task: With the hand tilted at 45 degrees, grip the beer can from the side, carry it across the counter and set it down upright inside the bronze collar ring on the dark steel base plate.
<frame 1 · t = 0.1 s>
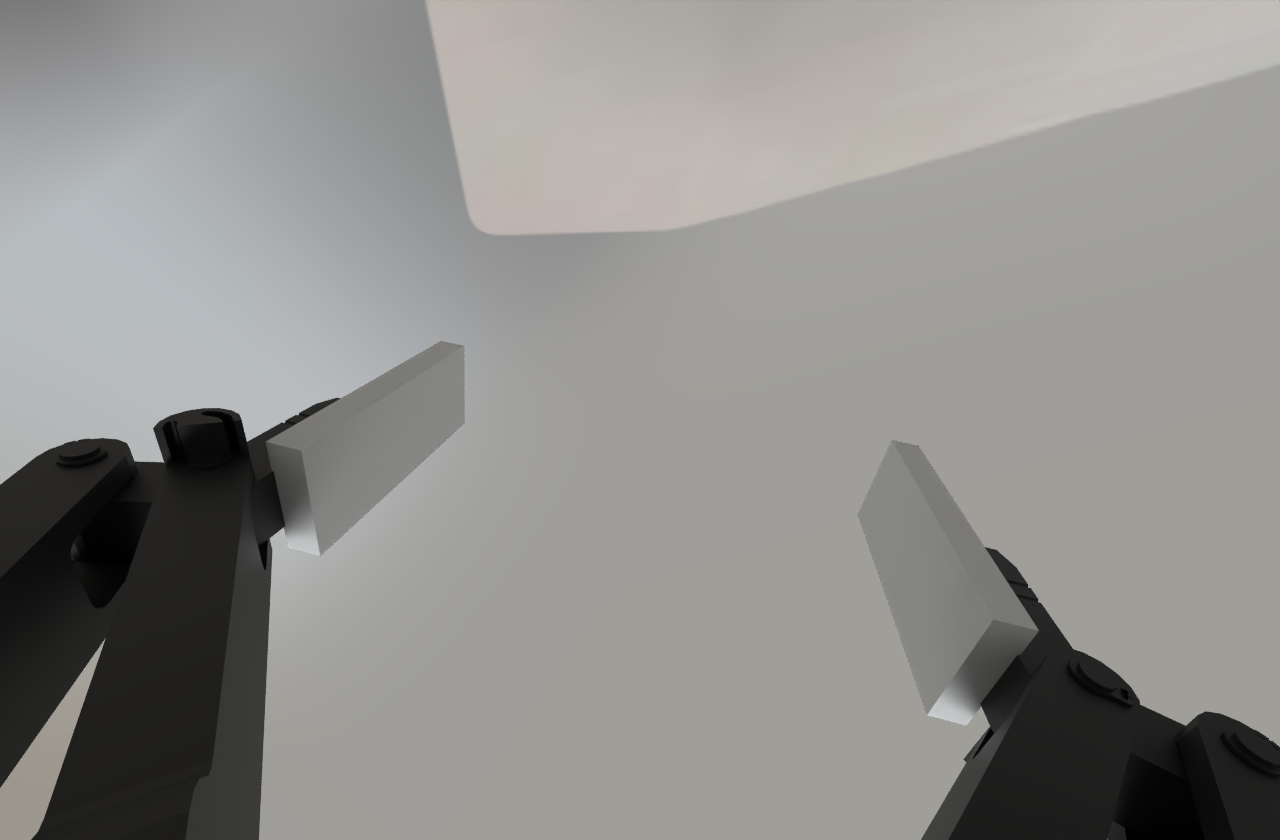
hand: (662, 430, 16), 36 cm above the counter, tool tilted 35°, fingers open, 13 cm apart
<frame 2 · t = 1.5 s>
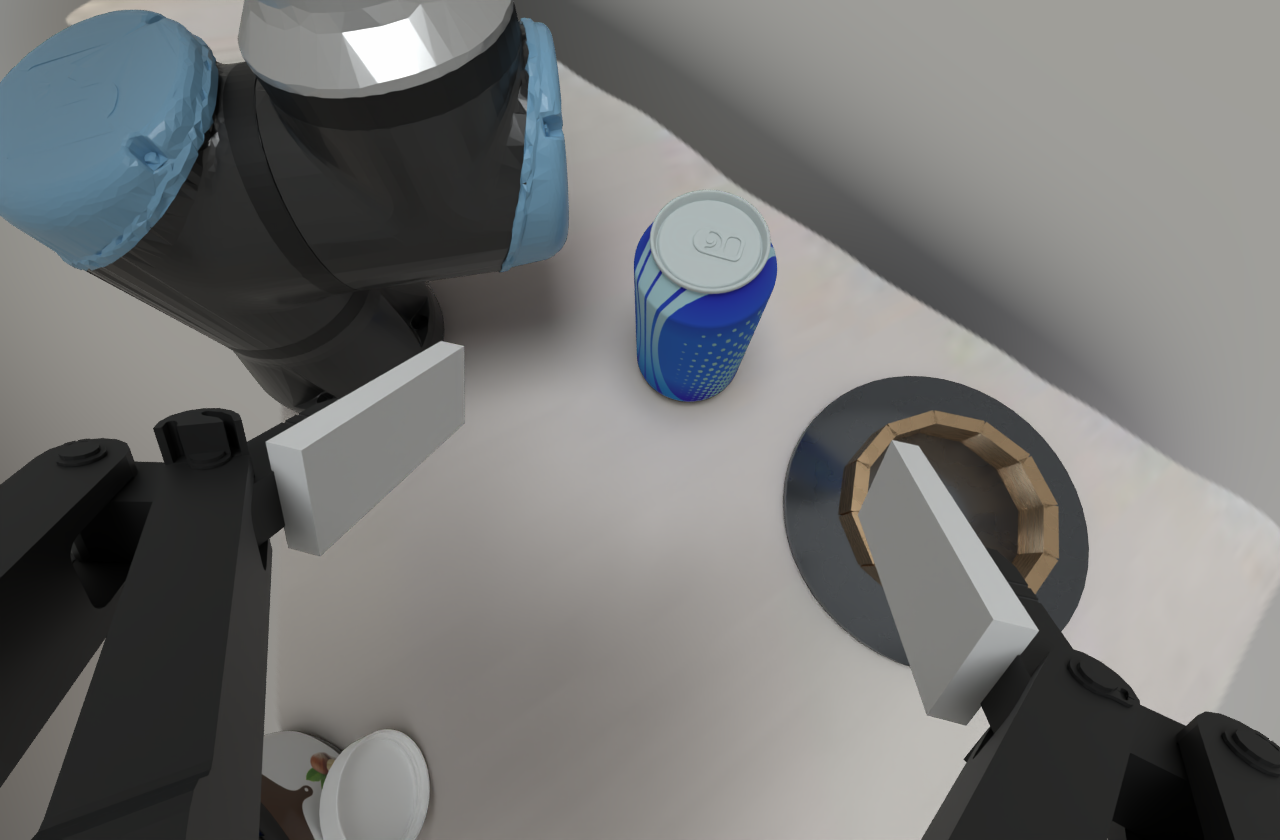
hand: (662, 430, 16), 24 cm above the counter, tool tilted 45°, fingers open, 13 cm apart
collar plate: (927, 514, 39), on the counter
beer can: (686, 361, 43), on the counter
spread jar: (341, 790, 34), on the counter
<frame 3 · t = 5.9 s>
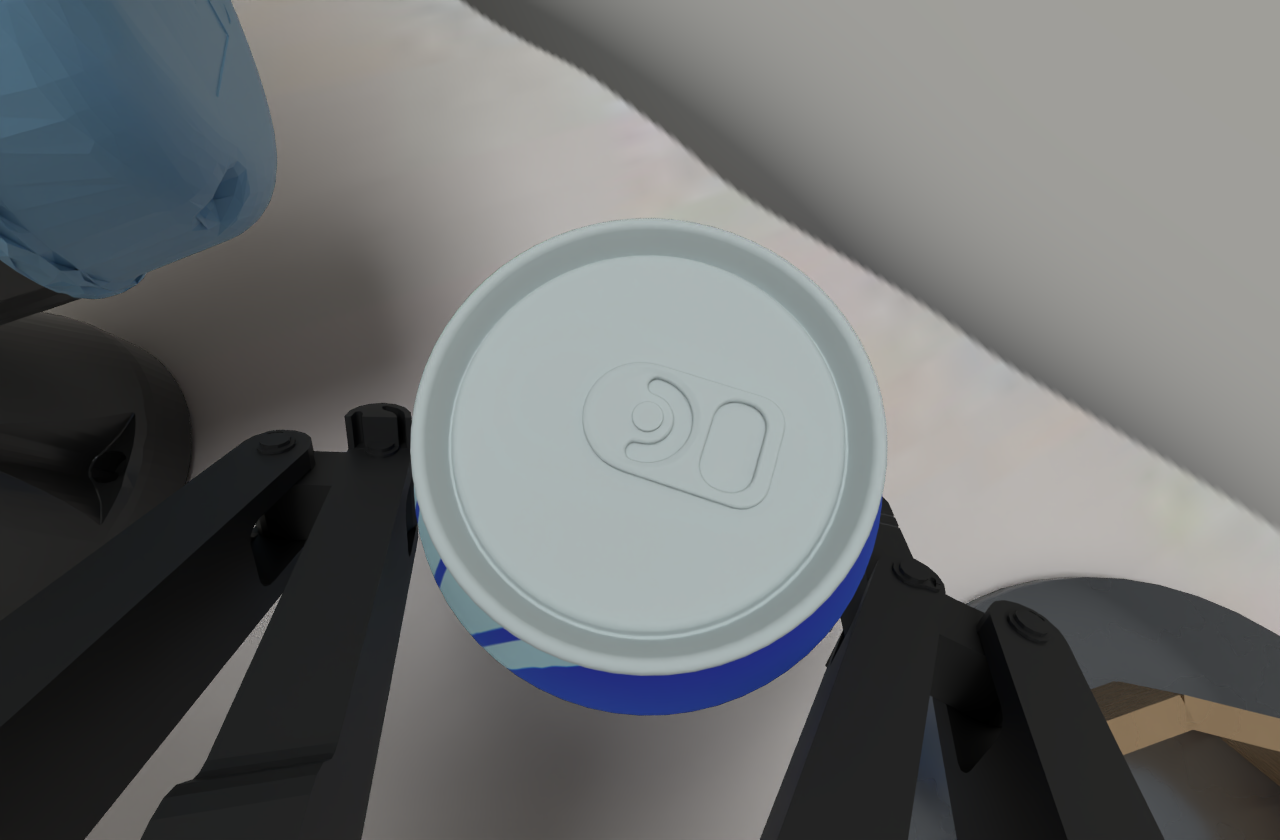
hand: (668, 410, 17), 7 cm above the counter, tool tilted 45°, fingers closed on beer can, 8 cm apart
beer can: (645, 531, 22), on the counter, touching gripper
when the fingers open (9 cm above the counter, at t = 12.3 s): beer can drops 1 cm, resting on collar plate.
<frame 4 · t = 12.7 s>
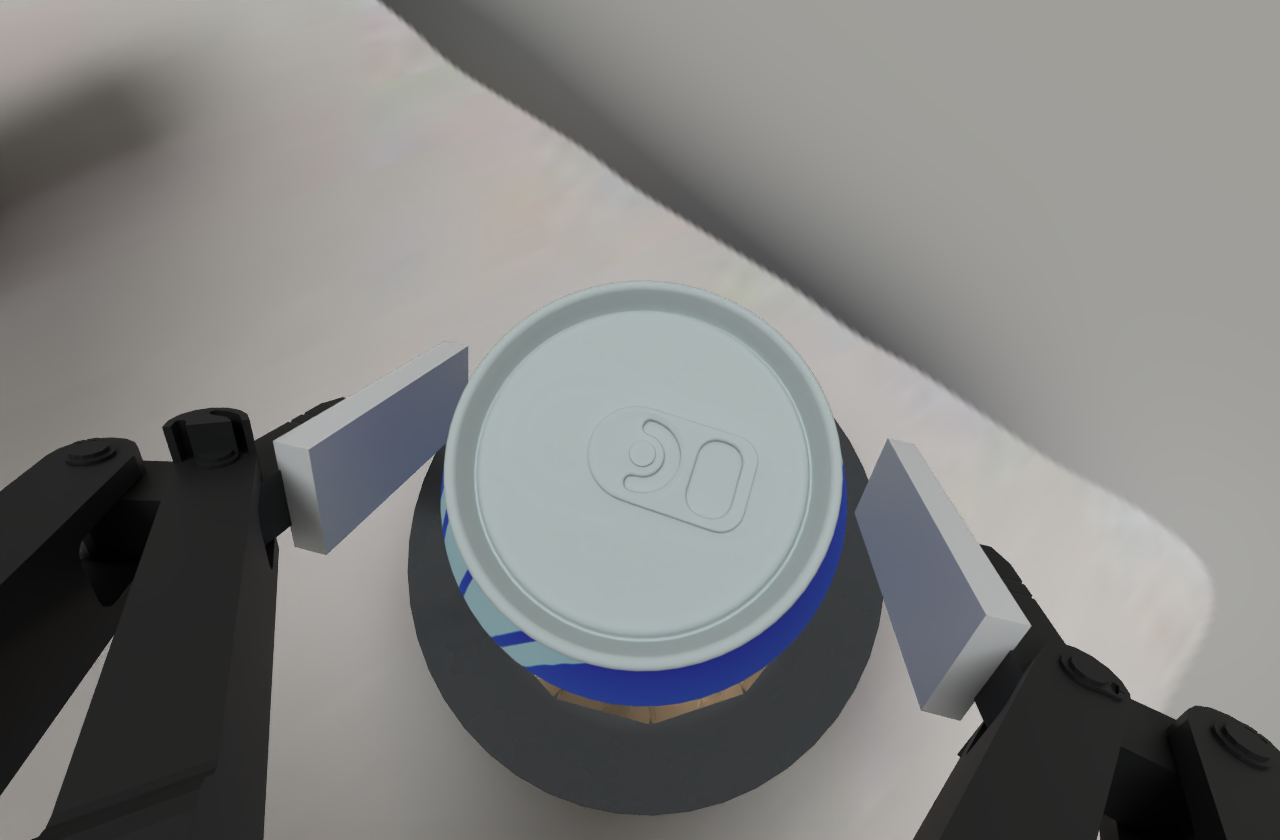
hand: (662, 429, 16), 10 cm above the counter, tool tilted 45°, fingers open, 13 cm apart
collar plate: (645, 535, 25), on the counter
beer can: (644, 539, 24), point 1 cm above the counter, touching collar plate
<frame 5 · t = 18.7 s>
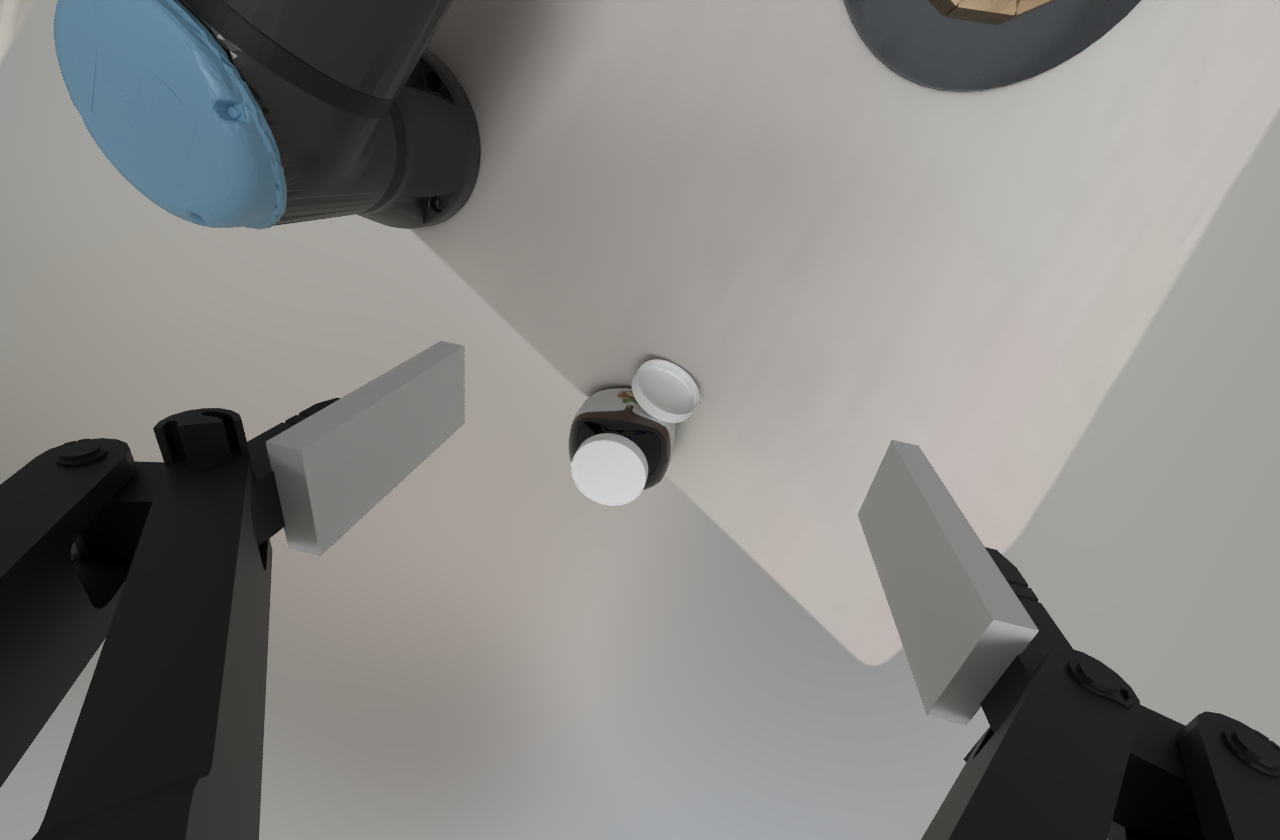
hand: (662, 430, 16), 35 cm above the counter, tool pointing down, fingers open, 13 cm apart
spread jar: (642, 402, 54), on the counter
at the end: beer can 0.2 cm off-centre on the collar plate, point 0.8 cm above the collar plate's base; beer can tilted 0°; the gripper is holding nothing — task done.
